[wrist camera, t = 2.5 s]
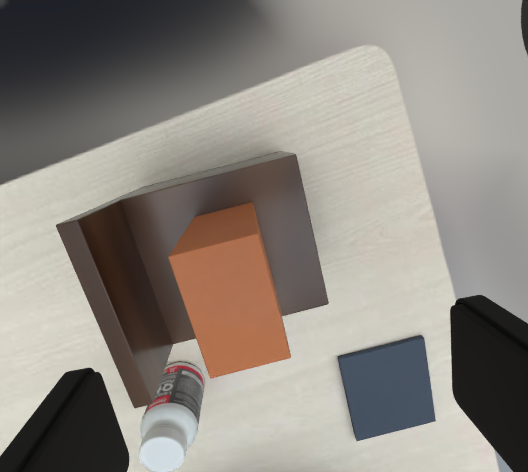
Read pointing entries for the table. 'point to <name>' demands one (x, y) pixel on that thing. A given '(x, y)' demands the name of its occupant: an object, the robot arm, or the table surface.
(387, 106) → the table surface
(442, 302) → the table surface
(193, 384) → the pill bottle
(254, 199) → the brown corner piece
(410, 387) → the mat
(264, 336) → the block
